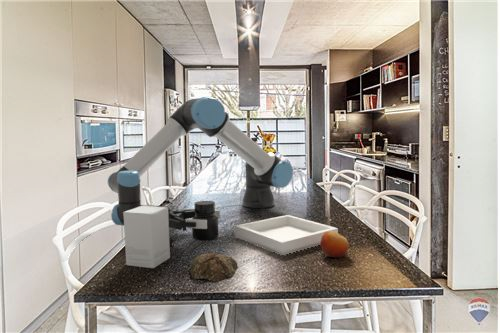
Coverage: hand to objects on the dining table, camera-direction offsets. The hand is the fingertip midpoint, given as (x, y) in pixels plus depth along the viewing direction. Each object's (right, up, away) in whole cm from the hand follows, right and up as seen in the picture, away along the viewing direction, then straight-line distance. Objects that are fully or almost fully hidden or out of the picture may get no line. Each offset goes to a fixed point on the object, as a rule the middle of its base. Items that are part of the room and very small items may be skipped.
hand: (213, 219), depth 128 cm
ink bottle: (-3, -7, +1) cm, 7 cm away
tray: (+24, -6, -1) cm, 25 cm away
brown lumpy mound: (+2, -10, -28) cm, 30 cm away
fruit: (+36, -8, -18) cm, 41 cm away
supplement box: (-16, -9, -21) cm, 28 cm away
